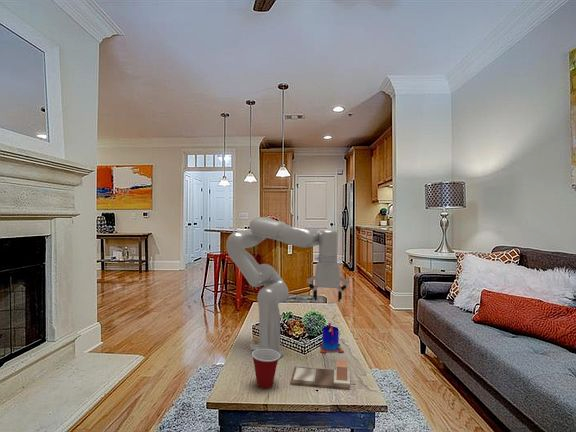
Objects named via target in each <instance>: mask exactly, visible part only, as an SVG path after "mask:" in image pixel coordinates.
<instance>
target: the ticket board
mask: <svg viewBox="0 0 576 432" xmlns="http://www.w3.org/2000/svg"><path fill="white" fill-rule="evenodd" d="M334 370H335V369H331V368H330V369H328V368H319V367H303V366H294V368H293V371H292V375H291V377H290V382H289V385H290V386H298V387H310V388H323V389H333V390H343V391H345V390H346V391H350V385H343V384H334Z"/></svg>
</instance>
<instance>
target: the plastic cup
mask: <svg viewBox="0 0 576 432" xmlns="http://www.w3.org/2000/svg"><path fill="white" fill-rule="evenodd" d="M251 356H252V360H253V367H254V372H255V378H256V384H257V387H258V388H259V389H262V390H263V389H264V390H265V389H266V390H267V389H270V388H272V387H273V385H274V381H275V376H276V370H277V365H278V362H279V358H280V354H279V352H277V351H275V350H271V349H257V350H252V351H251ZM280 359H281V358H280Z"/></svg>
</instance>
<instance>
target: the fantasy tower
mask: <svg viewBox="0 0 576 432" xmlns="http://www.w3.org/2000/svg"><path fill="white" fill-rule="evenodd" d="M339 333H340V332H339V328H338V327H337V326H333V325H332V323H331V322H330V323H328V325H327V326H324V327H322V342H321V343H322V344H320V345H319V346H320V351H319V353H320V354H323V355H325V354H335V353H336V354H344V353H345V351H344V350H343V349H341V348H340V346H341V344H340V343H339ZM321 345H322V346H321ZM319 346H318V347H319Z"/></svg>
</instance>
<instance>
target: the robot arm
mask: <svg viewBox="0 0 576 432" xmlns="http://www.w3.org/2000/svg"><path fill="white" fill-rule="evenodd" d="M248 228H249V229H245V230H238V231H234V232H232V233H230V234H229V236H227V239H226V245H225V248H226V252H227V254H228V257H229V258H230V260H231V261H232V262H233V263H234V265H236V267H237V268H238V270H239V271H240V272H241V274H242V276H244V277H243V278H245V279H246V282H247V283H248V284H249V285H250V286H251V287H254V288H258V287H259V288H260V287H261V286H263V287H262V288H260V289H259V291H258V293H257V298H256V299H257V307H258V341H259V342H258V343H257V344H254V343H250V344H249V348H250V350H251V351H255V350H257V349H271V350H275V351H277V352H279V354H280V358H279V359H281V358H283V356H284V351H283V349H281V313H280V312H281V311H280V308H279V304H280V303H282V302H284V301H286V299H287V298H288V296H289V293H290V292H289V288H288V286H287V284H286V283H285V281H284V280H283V279H282V277H281V276H280V275H279V273H278V272H277V270H276V269H275V268H274V267H273V266H272V265H271V264H268V263H261V264H259V263H258V262H257V260H256V259H255V257H254V256H253V255H252V254H251V253H250V252H248V251H247V250H246V249H250V248H253V247H255V246H257V245H259V244H260V243H261V242H263V241H264V240H266V239H270V240H274V241H279V242H281V243H283V244H286V245H289V246H294V247H299V248H303V249H306V248H311V247H315V246H318V255H316V256H314V257H315V260H317V262H316V265H315V275H313V276H312V277H310V278H307V279H306V282H307V284H308V286H309V287H310V289H311V290H312V297H313V299H314V301H317V300H318V299H317V298H318V290H317V289H318V288H323V289H324V288H327V289H329V288H332V289H337V290H338V291H337V292H338V293H337V294H338V295H337V297H338V299H337V301H338V302H339V303H340V302H341V300H342V297H343V295H342V294H343V291H344V290H346V289H347V287H348V285H349V282H350V281H349V280H348V279H346V278H344V277H342V276H341V270H340V268H341V267H340V264H339V262H338V232H337V230H336V229H319V228H314V227H313V228H299V227H294V226H291V225H287V223H286V222H285V221H280V220H275V219H273V218H271V217H268V216H260V217H255V218H253V219H252V220H251V221H250V222H249V226H248ZM313 281H314V282H315V283H314V284H313V283H312V282H313ZM341 282H343V285H342V286H341Z"/></svg>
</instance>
